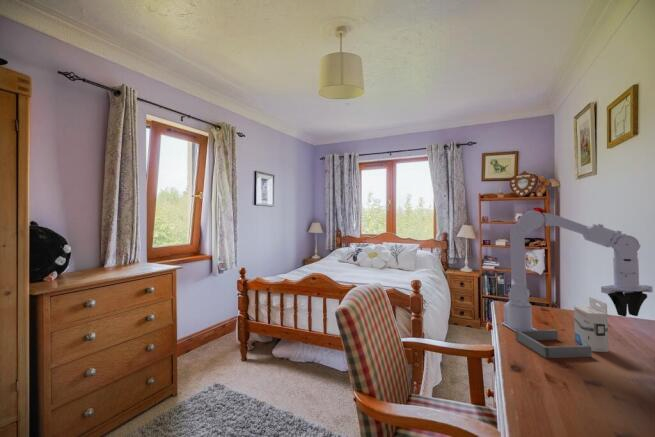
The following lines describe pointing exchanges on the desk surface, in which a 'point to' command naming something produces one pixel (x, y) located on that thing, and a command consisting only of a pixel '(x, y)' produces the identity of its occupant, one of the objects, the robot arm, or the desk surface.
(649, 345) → the desk surface
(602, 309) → the ink box
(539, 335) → the frame
